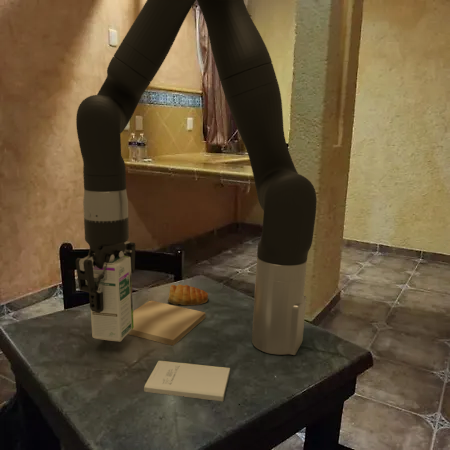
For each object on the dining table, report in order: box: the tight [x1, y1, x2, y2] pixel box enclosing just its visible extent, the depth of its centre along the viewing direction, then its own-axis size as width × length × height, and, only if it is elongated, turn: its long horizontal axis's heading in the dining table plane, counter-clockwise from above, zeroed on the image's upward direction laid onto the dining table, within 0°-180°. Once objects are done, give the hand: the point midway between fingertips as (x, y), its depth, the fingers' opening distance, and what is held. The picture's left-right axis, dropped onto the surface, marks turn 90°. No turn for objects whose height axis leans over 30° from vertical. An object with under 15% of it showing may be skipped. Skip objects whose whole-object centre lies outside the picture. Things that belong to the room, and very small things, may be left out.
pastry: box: [167, 284, 209, 306], centre depth 103 cm, size 9×7×4 cm
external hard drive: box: [143, 360, 231, 402], centre depth 71 cm, size 2×8×12 cm
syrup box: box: [90, 255, 134, 343], centre depth 79 cm, size 6×6×14 cm
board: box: [127, 300, 207, 346], centre depth 91 cm, size 14×14×1 cm
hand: (109, 304), depth 80 cm, fingers closed on syrup box, 6 cm apart
